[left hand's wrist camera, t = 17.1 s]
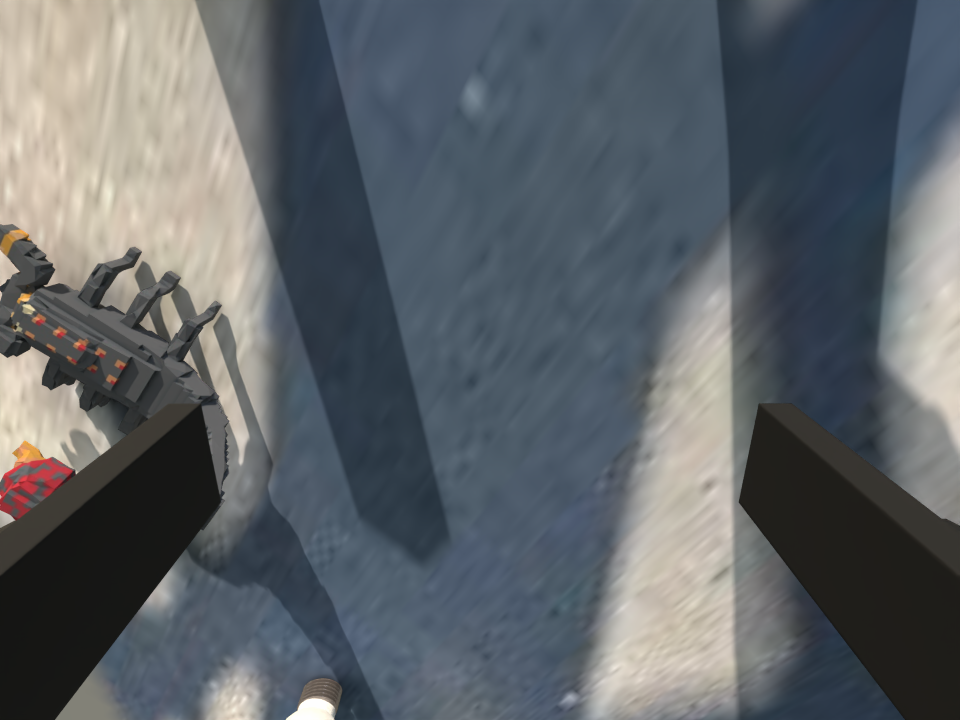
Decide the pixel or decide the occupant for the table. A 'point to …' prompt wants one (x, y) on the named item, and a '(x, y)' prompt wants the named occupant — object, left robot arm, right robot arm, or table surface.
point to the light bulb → (318, 701)
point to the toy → (96, 358)
